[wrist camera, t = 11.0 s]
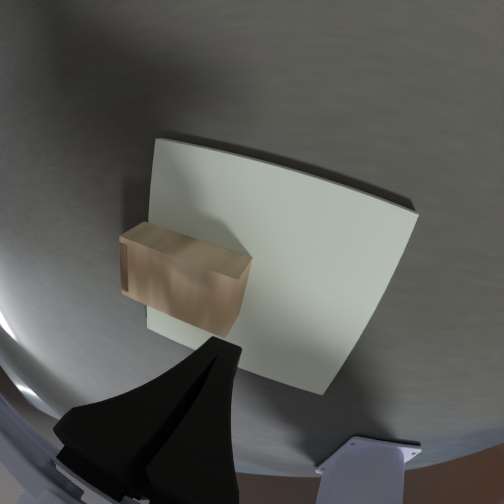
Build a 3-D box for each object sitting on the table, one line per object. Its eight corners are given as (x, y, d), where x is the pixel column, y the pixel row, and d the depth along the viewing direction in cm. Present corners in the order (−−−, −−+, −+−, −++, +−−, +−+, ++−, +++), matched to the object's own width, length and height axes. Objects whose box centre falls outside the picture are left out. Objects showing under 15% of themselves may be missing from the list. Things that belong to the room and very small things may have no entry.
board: (323, 389, 19) (322, 395, 19) (151, 323, 22) (147, 327, 21) (415, 211, 13) (418, 214, 12) (161, 137, 15) (155, 138, 15)
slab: (225, 339, 16) (121, 293, 17) (239, 313, 18) (143, 275, 19) (237, 280, 14) (118, 236, 15) (252, 257, 16) (144, 220, 17)
